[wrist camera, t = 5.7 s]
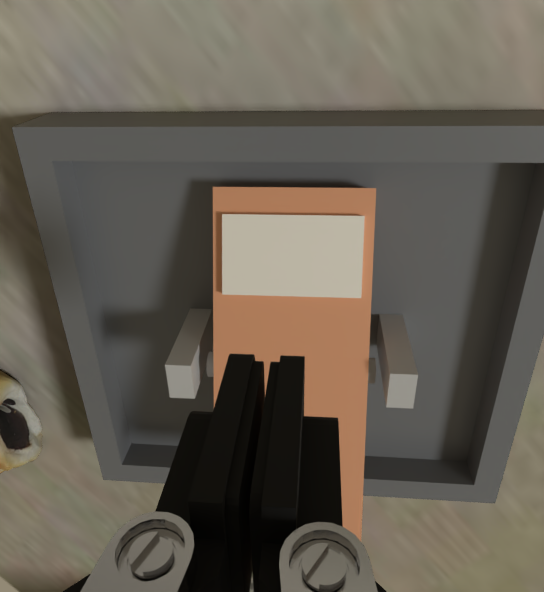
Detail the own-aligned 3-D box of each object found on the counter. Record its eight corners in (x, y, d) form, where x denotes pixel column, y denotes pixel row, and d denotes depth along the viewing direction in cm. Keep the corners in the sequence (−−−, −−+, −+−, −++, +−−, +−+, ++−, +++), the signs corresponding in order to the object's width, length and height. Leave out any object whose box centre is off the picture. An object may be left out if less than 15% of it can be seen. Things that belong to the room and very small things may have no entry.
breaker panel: (478, 457, 28) (512, 554, 23) (123, 438, 29) (82, 524, 25) (565, 109, 19) (650, 145, 14) (51, 112, 21) (-35, 144, 16)
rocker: (365, 525, 22) (369, 547, 20) (212, 515, 22) (205, 536, 21) (380, 190, 20) (385, 187, 18) (211, 188, 20) (203, 186, 19)
